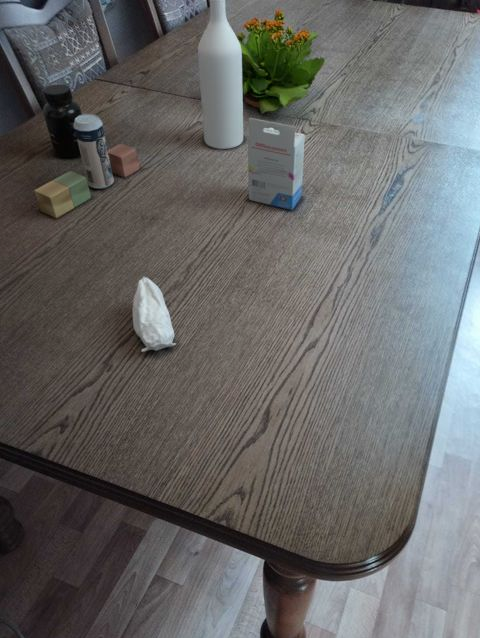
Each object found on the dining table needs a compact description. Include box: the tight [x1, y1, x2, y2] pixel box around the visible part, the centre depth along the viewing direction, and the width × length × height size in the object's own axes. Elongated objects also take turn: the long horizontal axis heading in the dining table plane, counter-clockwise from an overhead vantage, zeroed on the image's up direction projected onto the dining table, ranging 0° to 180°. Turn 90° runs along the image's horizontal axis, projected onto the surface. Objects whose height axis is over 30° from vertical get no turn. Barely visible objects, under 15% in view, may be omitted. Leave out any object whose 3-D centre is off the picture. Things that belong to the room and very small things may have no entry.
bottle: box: [197, 0, 244, 150], centre depth 102 cm, size 8×8×30 cm
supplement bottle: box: [42, 83, 83, 159], centre depth 105 cm, size 7×7×12 cm
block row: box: [33, 143, 140, 219], centre depth 98 cm, size 4×20×4 cm, turn 146°
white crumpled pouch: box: [131, 275, 177, 353], centre depth 73 cm, size 5×7×10 cm
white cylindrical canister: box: [74, 113, 115, 190], centre depth 96 cm, size 5×5×12 cm
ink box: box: [247, 117, 306, 211], centre depth 92 cm, size 8×5×15 cm, turn 66°
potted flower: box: [236, 9, 326, 115], centre depth 121 cm, size 25×24×18 cm
